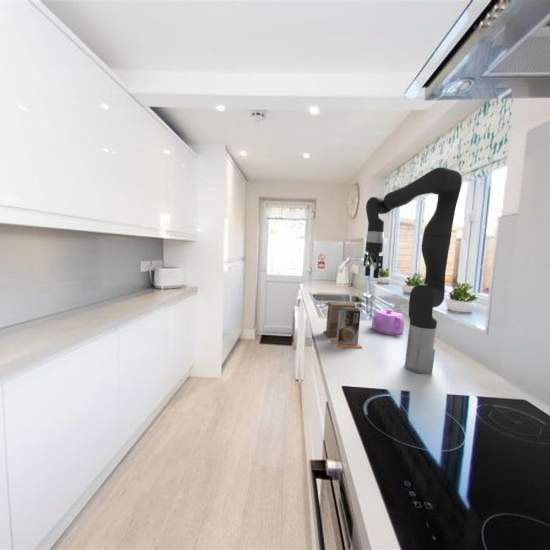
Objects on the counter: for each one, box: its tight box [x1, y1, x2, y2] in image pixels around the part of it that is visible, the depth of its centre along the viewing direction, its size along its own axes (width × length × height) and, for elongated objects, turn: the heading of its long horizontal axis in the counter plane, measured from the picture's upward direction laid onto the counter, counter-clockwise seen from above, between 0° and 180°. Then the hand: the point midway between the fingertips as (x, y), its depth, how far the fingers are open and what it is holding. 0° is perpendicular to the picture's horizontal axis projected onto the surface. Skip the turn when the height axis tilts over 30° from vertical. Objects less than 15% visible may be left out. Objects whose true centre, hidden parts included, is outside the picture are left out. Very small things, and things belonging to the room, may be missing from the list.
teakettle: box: [371, 308, 405, 336], centre depth 168 cm, size 17×17×12 cm
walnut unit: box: [323, 301, 356, 339], centre depth 153 cm, size 8×14×16 cm, turn 97°
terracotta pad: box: [330, 338, 363, 349], centre depth 141 cm, size 11×11×1 cm
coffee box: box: [336, 307, 361, 345], centre depth 140 cm, size 9×6×16 cm
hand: (371, 276), depth 140 cm, fingers open, 8 cm apart
